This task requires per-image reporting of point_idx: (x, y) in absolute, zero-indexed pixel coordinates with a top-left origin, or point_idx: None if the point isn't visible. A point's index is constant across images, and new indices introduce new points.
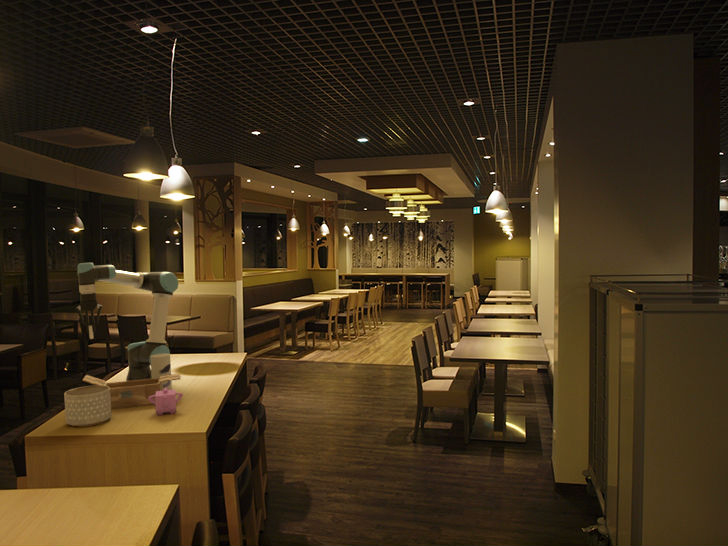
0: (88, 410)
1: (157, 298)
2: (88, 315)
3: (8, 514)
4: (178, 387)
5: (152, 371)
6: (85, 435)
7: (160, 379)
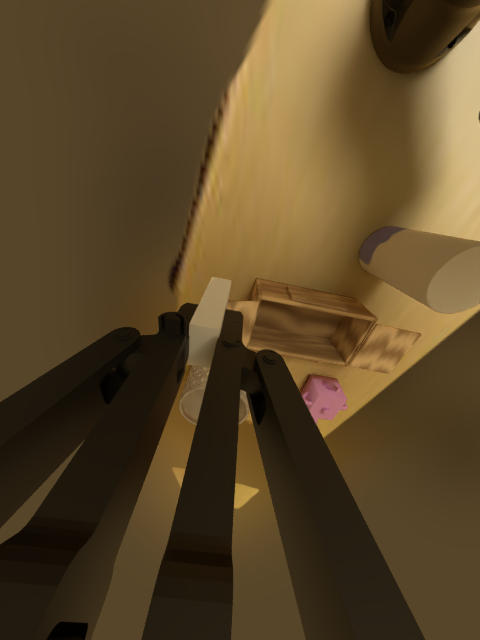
0: None
1: None
2: (134, 457)
3: (179, 483)
4: (434, 230)
5: (391, 275)
6: None
7: (358, 354)
